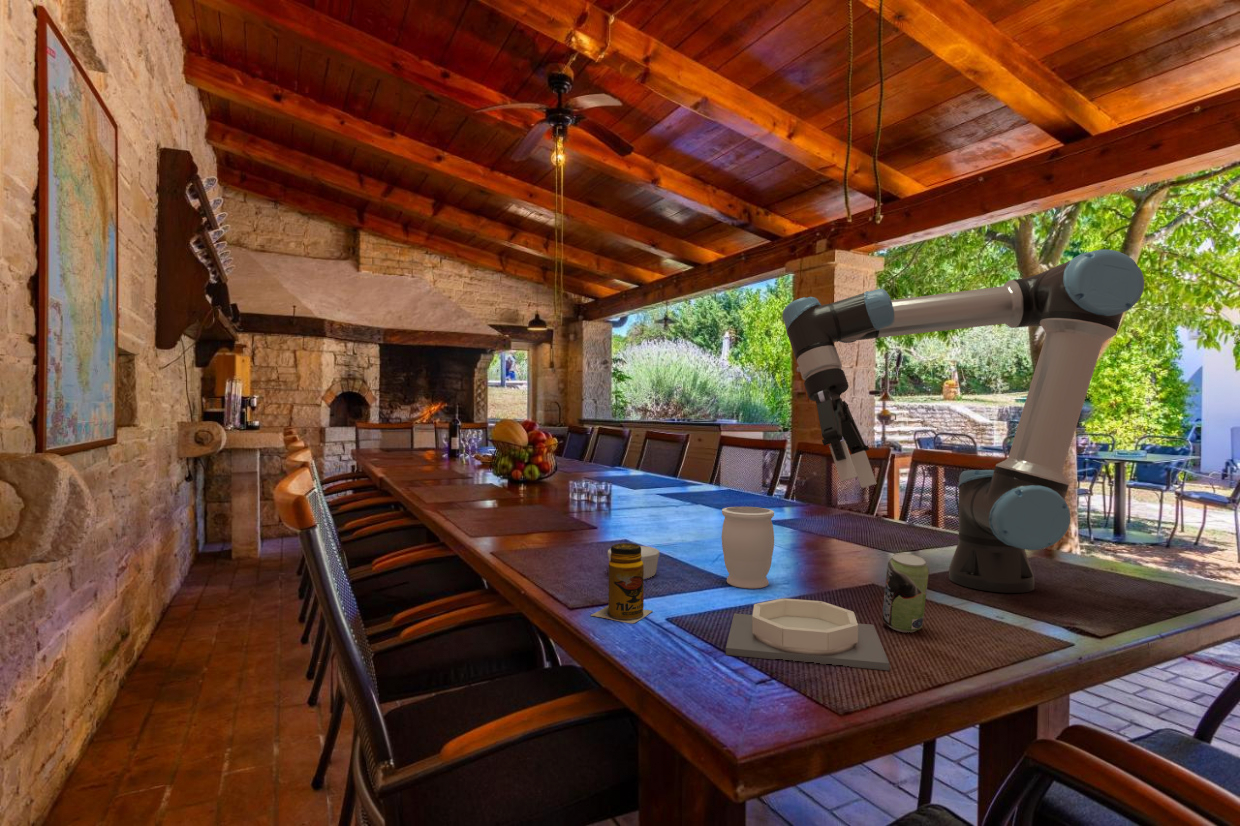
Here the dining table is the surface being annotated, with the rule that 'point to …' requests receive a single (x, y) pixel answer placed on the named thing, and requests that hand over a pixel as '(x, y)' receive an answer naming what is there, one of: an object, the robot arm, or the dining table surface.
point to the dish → (805, 626)
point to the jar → (747, 545)
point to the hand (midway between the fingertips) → (859, 482)
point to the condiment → (625, 585)
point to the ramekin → (647, 560)
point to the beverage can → (905, 592)
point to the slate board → (860, 656)
